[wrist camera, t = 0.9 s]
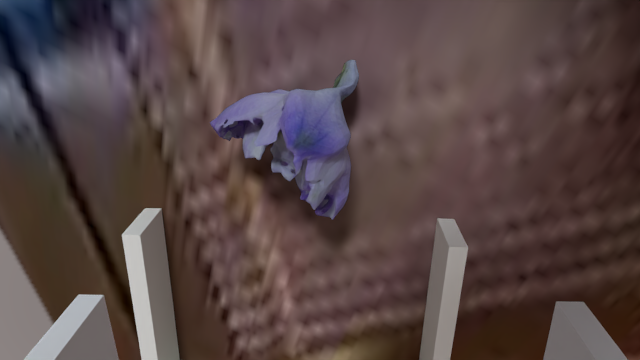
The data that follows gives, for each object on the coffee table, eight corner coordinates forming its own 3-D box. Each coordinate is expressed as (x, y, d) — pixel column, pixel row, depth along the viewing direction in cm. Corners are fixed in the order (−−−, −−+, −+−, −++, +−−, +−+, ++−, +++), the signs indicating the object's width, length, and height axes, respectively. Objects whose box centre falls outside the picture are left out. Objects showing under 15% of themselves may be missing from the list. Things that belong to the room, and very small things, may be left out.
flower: (306, -9, 22) (234, 190, 22) (426, 71, 27) (371, 237, 26) (233, 23, 30) (179, 170, 29) (336, 80, 35) (291, 208, 34)
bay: (145, 208, 34) (121, 234, 31) (453, 218, 34) (468, 247, 30) (167, 370, 40) (149, 409, 36) (430, 382, 39) (439, 423, 36)
